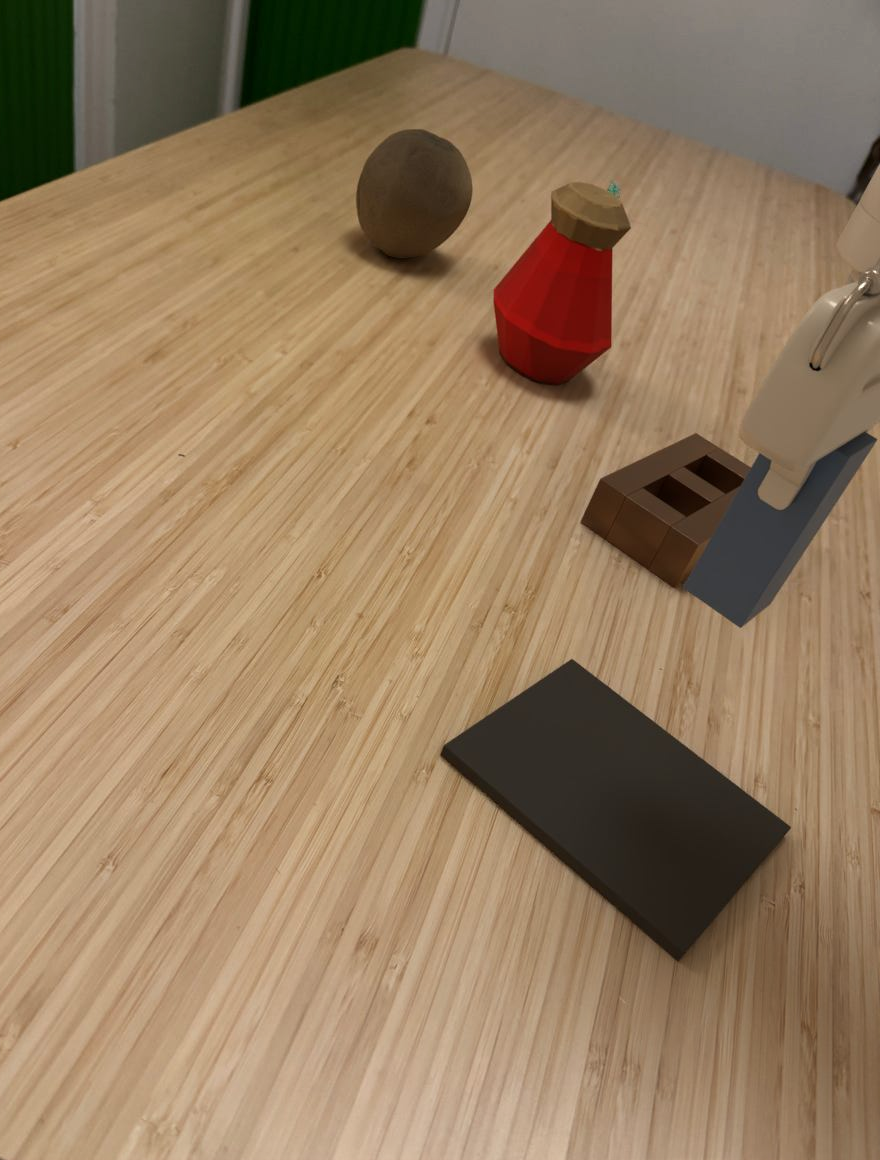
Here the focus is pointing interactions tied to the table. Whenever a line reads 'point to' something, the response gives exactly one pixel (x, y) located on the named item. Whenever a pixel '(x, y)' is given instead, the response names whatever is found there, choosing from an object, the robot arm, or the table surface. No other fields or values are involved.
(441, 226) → the cantaloupe
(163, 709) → the table surface
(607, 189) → the anatomy model
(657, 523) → the peg block
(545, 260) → the bottle
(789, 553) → the peg
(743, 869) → the mat
